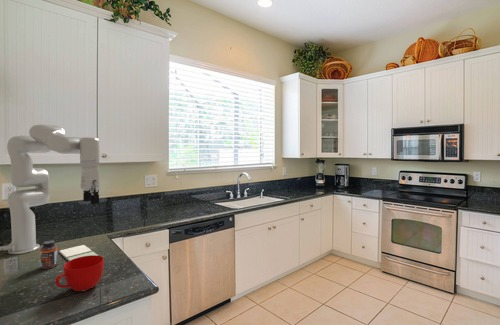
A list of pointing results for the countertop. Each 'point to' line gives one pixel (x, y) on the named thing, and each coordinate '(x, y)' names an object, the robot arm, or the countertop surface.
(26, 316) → the countertop surface
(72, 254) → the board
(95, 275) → the ceramic cup
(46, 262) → the supplement bottle
